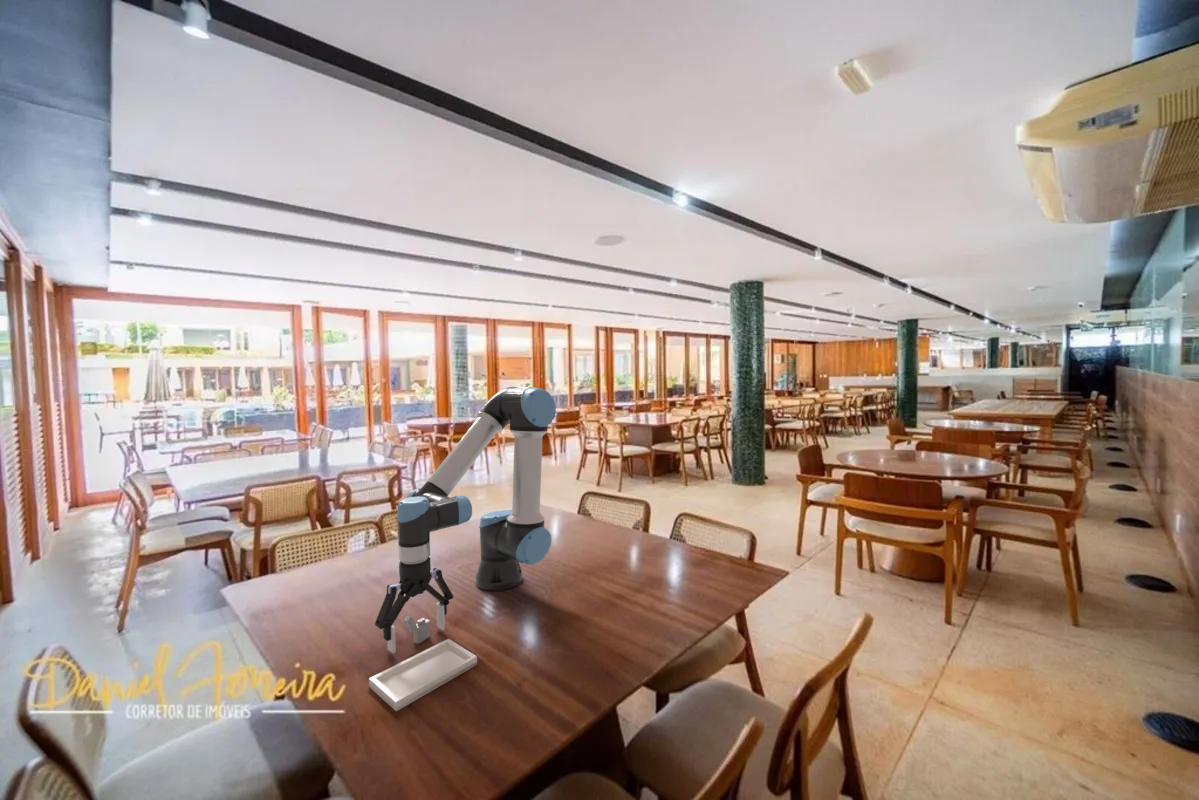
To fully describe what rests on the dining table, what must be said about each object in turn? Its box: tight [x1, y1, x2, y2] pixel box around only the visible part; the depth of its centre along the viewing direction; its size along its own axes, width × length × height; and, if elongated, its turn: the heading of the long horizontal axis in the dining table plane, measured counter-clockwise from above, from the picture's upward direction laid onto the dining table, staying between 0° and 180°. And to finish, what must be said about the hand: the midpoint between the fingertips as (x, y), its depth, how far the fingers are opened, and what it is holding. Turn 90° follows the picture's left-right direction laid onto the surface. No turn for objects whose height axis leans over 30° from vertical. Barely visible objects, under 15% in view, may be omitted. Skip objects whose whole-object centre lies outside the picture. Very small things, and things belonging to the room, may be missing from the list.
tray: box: [368, 638, 478, 712], centre depth 109 cm, size 20×12×2 cm, turn 140°
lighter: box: [403, 615, 431, 645], centre depth 122 cm, size 7×2×8 cm, turn 153°
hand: (417, 639), depth 123 cm, fingers open, 13 cm apart
